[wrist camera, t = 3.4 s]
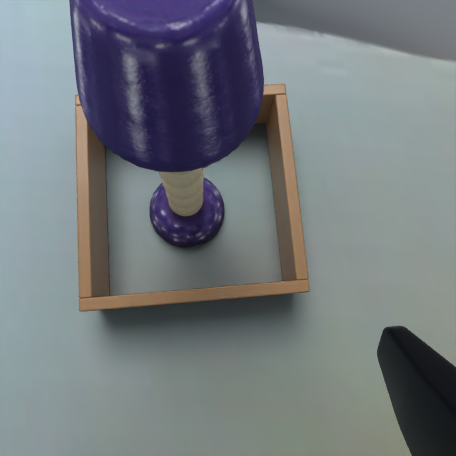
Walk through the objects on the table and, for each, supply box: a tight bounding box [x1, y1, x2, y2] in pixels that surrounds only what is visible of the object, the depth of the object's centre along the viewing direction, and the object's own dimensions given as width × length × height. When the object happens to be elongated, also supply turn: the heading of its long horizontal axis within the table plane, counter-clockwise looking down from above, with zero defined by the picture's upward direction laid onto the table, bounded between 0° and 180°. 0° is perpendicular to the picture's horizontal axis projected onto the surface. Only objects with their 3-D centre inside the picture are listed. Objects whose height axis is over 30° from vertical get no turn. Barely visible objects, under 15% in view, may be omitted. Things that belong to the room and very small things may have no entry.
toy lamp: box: [69, 0, 264, 246], centre depth 15 cm, size 5×5×17 cm
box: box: [75, 84, 310, 312], centre depth 21 cm, size 11×11×4 cm
